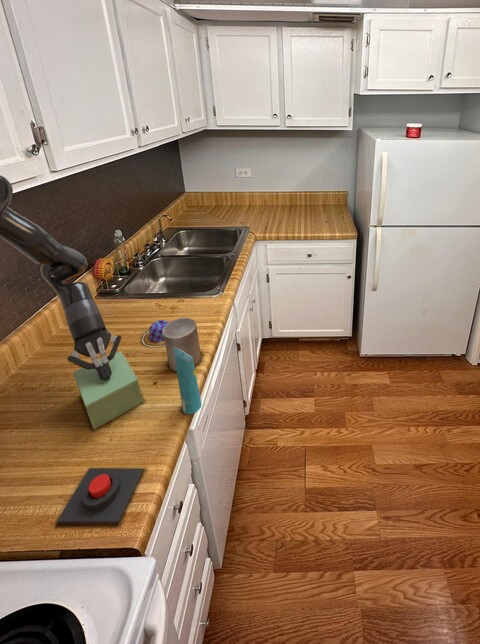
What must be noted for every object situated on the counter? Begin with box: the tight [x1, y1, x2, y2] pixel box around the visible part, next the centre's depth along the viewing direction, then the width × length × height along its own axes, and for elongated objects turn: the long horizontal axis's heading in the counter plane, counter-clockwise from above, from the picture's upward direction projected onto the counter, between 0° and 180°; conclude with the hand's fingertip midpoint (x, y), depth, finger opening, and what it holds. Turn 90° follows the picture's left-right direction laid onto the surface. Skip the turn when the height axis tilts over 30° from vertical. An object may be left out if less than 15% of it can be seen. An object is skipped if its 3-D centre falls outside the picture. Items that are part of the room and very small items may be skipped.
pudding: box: [142, 319, 169, 348], centre depth 116 cm, size 12×12×5 cm
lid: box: [72, 350, 139, 409], centre depth 88 cm, size 15×12×1 cm
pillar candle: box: [162, 317, 202, 372], centre depth 103 cm, size 10×10×15 cm
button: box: [89, 474, 111, 498], centre depth 68 cm, size 4×4×2 cm
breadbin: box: [73, 375, 144, 431], centre depth 90 cm, size 14×12×9 cm
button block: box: [56, 467, 144, 525], centre depth 69 cm, size 12×10×4 cm
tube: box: [174, 347, 202, 415], centre depth 87 cm, size 7×5×19 cm, turn 63°
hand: (107, 379), depth 86 cm, fingers closed
